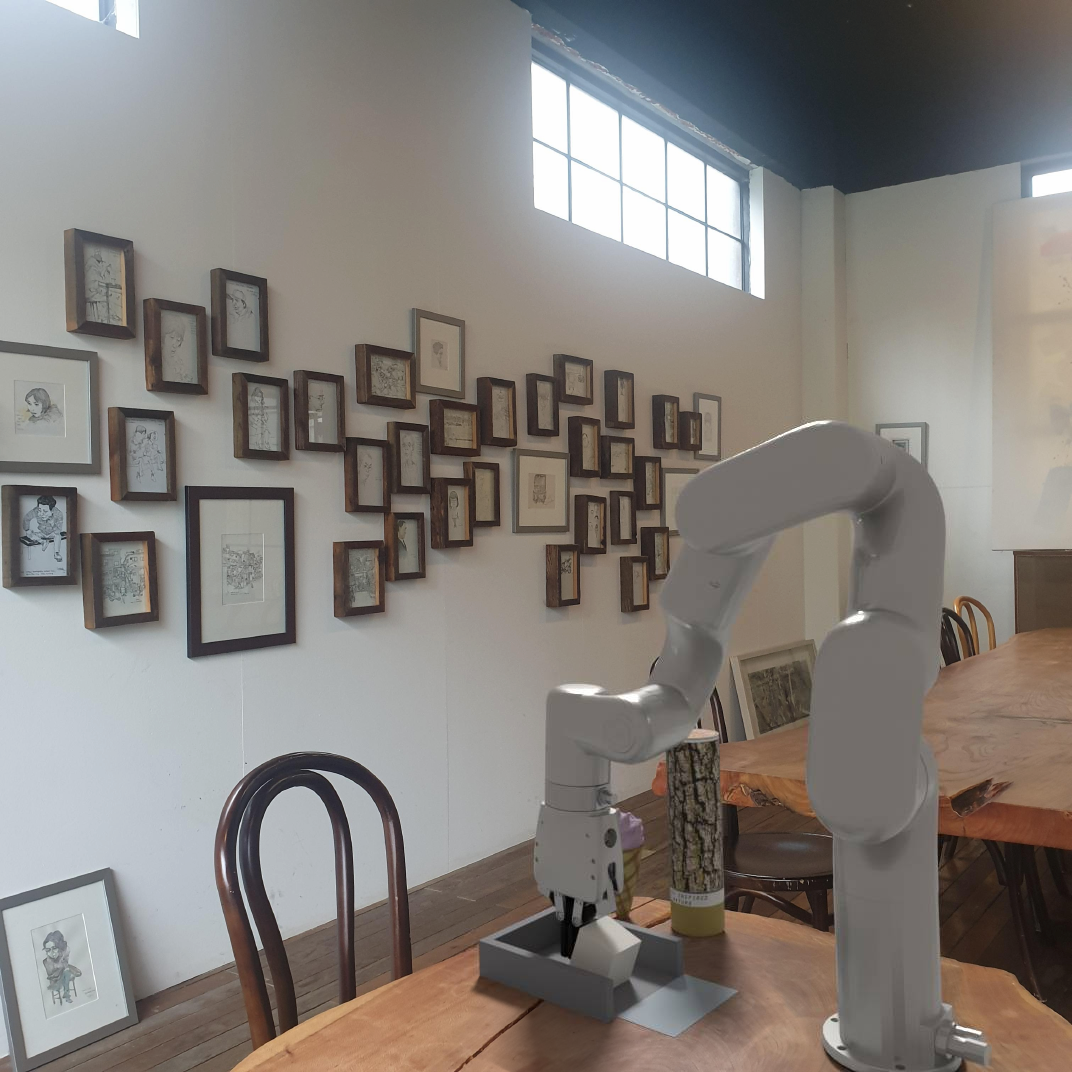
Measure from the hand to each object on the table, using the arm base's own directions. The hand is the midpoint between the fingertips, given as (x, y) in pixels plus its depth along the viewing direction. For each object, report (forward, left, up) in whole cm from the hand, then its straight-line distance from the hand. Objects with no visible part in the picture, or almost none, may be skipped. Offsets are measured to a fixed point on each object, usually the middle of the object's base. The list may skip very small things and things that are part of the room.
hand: (574, 954), depth 110 cm
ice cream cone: (+6, -17, -3) cm, 19 cm away
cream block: (-3, 0, -1) cm, 4 cm away
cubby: (-4, 0, -3) cm, 5 cm away
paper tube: (-4, -20, -3) cm, 21 cm away
